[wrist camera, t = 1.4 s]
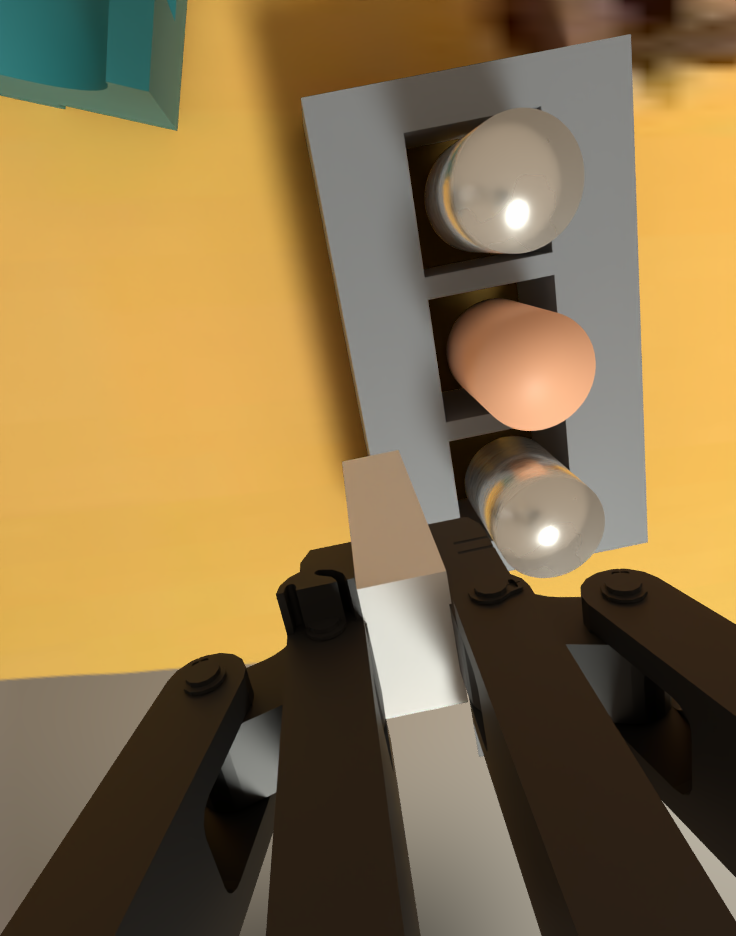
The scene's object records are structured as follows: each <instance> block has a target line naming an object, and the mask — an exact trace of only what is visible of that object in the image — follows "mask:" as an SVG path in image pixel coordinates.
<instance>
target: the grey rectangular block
mask: <svg viewBox="0 0 736 936" xmlns="http://www.w3.org/2000/svg"><path fill="white" fill-rule="evenodd" d="M301 106H302V118H303V127H304V132H305V137H306V142H307V147H308V153H309V158H310V163H311V168H312V173H313V178H314V183H315V188H316V194H317V199H318V204H319V209H320V214H321V219H322V224H323V229H324V234H325V240H326V245H327V250H328V255H329V260H330V265H331V270H332V275H333V280H334V286H335V291H336V296H337V301H338V306H339V311H340V316H341V321H342V326H343V332H344V337H345V342H346V347H347V352H348V357H349V362H350V367H351V372H352V378H353V383H354V388H355V393H356V398H357V403H358V408H359V413H360V419H361V424H362V429H363V434H364V439H365V444H366V449H367V454H368V456H371V455H376V454H381V453H386V452H391V451H396V450H399V453H400V455H401V458H402V460H403V463H404V465H405V468H406V470H407V473H408V475H409V478H410V481H411V483H412V486H413V488H414V491H415V493H416V496H417V498H418V501H419V503H420V506H421V508H422V511H423V513H424V516H425V519H426V521H427V524H432V523H437V522H442V521H447V520H452V519H456V518H461V517H468V518H470V519H472V520H474V521H476V522H478V523H479V524H481V525H482V527H483V529H484V530H485V532H486V534H487V535H488V538H489V539H490V541H491V542H492V544H493V547H495V549H496V551H497V552H498V554H499V556H500V558H501V559H502V561H503V563H504V564H505V566H506V568H507V570H508V571H511V570H515V569H514V568H513V567H511V566H510V565H509V564H508V563H507V561H506V560H505V559H504V557H503V556H502V554H501V552H500V551H499V549H498V547H497V546H496V544H495V543H494V541H493V539H492V538H491V536H490V534H489V533H488V531H487V529H486V528H485V526H484V525H483V523H482V521H481V520H480V518H479V516H478V515H477V513H476V512H475V510H474V508H473V507H472V505H471V503H470V502H469V500H468V498H467V499H462V500H457V494H456V487H455V480H454V473H453V466H452V460H451V453H450V446H449V441H454V440H459V439H464V438H469V437H473V436H478V435H483V434H488V433H493V432H498V431H503V430H508V429H513V428H511V427H509V426H507V425H505V424H503V423H501V422H500V421H498V420H497V419H496V418H495V417H494V416H493V415H491V414H490V413H489V412H488V411H487V410H486V409H485V408H484V407H483V406H482V405H481V404H480V403H479V402H478V401H477V400H476V399H475V398H473V397H472V396H471V395H470V394H469V393H468V392H467V391H466V390H465V389H464V388H461V389H456V390H451V391H446V392H441V385H440V378H439V371H438V364H437V358H436V351H435V344H434V337H433V330H432V323H431V317H430V310H429V303H428V300H430V299H435V298H440V297H445V296H450V295H455V294H460V293H465V292H470V291H475V290H480V289H485V288H490V287H495V286H500V285H505V284H510V283H515V282H517V292H518V302H520V303H523V304H527V305H531V306H534V307H538V308H542V309H545V310H549V311H552V312H556V313H559V314H563V315H565V316H567V317H569V318H571V319H572V320H574V321H575V322H576V323H577V324H579V325H580V326H581V327H582V328H583V330H584V331H585V332H586V334H587V335H588V337H589V339H590V341H591V343H592V345H593V349H594V353H595V360H596V369H595V377H594V381H593V384H592V387H591V389H590V392H589V394H588V396H587V397H586V399H585V401H584V402H583V403H582V405H581V406H580V407H579V408H578V409H577V411H576V412H574V413H573V414H572V415H571V416H570V417H569V418H567V419H566V420H564V421H563V422H561V423H559V424H557V425H555V426H552V427H550V428H547V429H543V430H536V431H531V434H532V440H533V441H535V442H537V443H538V444H540V445H541V446H542V447H543V448H544V449H546V450H547V451H548V452H549V453H550V454H551V455H552V456H554V457H555V458H556V459H557V460H558V461H559V462H560V463H562V464H563V465H564V466H565V467H566V468H567V469H568V470H570V471H571V472H572V473H573V474H574V475H575V476H576V477H578V478H579V479H580V480H581V481H582V482H583V483H584V484H586V485H587V486H588V487H589V488H590V489H591V490H592V491H593V492H594V493H595V494H596V495H597V497H598V498H599V500H600V502H601V504H602V506H603V510H604V515H605V527H604V532H603V536H602V539H601V541H600V543H599V545H598V547H597V549H596V550H595V552H594V553H598V552H603V551H608V550H613V549H617V548H622V547H627V546H632V545H637V544H642V543H646V542H648V536H647V506H646V476H645V446H644V416H643V386H642V356H641V326H640V296H639V266H638V236H637V206H636V177H635V147H634V117H633V87H632V57H631V34H629V35H624V36H619V37H614V38H609V39H603V40H598V41H593V42H588V43H583V44H577V45H572V46H567V47H562V48H557V49H552V50H546V51H541V52H536V53H531V54H526V55H520V56H515V57H510V58H505V59H500V60H495V61H489V62H484V63H479V64H474V65H469V66H463V67H458V68H453V69H448V70H443V71H437V72H432V73H427V74H422V75H417V76H412V77H406V78H401V79H396V80H391V81H386V82H380V83H375V84H370V85H365V86H360V87H355V88H349V89H344V90H339V91H334V92H329V93H323V94H318V95H313V96H308V97H303V98H301ZM515 108H533V109H538V110H541V111H544V112H547V113H549V114H551V115H553V116H554V117H556V118H557V119H559V120H560V121H561V122H562V123H563V124H564V125H565V126H566V127H567V128H568V129H569V130H570V132H571V133H572V134H573V136H574V138H575V139H576V141H577V143H578V145H579V148H580V151H581V154H582V158H583V163H584V188H583V193H582V197H581V201H580V203H579V206H578V209H577V211H576V213H575V215H574V217H573V218H572V220H571V221H570V223H569V224H568V226H567V227H566V228H565V229H564V230H563V232H562V233H561V234H559V235H558V236H557V237H556V238H555V239H554V240H552V241H551V242H550V243H548V244H546V245H545V246H543V247H541V248H539V249H536V250H534V251H530V252H526V253H519V254H508V253H502V254H497V255H492V256H487V257H482V258H477V259H472V260H467V261H462V262H457V263H452V264H447V265H442V266H437V267H432V268H427V269H423V262H422V255H421V249H420V242H419V235H418V228H417V221H416V215H415V208H414V201H413V194H412V187H411V181H410V174H409V167H408V160H407V153H406V149H409V148H414V147H419V146H424V145H429V144H434V143H440V142H445V141H450V140H455V139H460V138H463V137H464V136H465V135H467V134H468V133H470V132H471V131H472V130H474V129H475V128H476V127H478V126H479V125H481V124H482V123H483V122H485V121H486V120H487V119H489V118H491V117H492V116H494V115H496V114H498V113H501V112H503V111H506V110H510V109H515Z"/></svg>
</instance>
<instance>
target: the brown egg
mask: <svg viewBox="0 0 736 936" xmlns="http://www.w3.org/2000/svg"><path fill="white" fill-rule="evenodd" d="M446 356H447V362H448V366H449V369H450V371H451V373H452V375H453V377H454V378H455V380H456V381H457V382H458V383H459V384H460V385H461V386H462V387H463V388H464V389H465V390H466V391H467V392H468V393H469V394H470V395H471V396H472V397H473V398H475V399H476V400H477V401H478V402H479V403H480V404H481V405H482V406H483V407H484V408H485V409H486V410H487V411H488V412H489V413H490V414H491V415H493V416H494V417H495V418H496V419H497V420H498V421H500V422H501V423H503V424H505V425H507V426H509V427H511V428H514V429H518V430H525V431H536V430H543V429H547V428H550V427H552V426H555V425H557V424H559V423H561V422H563V421H564V420H566V419H567V418H569V417H570V416H571V415H572V414H573V413H574V412H576V411H577V409H578V408H579V407H580V406H581V405H582V403H583V402H584V401H585V399H586V397H587V396H588V394H589V392H590V389H591V387H592V384H593V381H594V377H595V369H596V360H595V353H594V349H593V345H592V343H591V341H590V339H589V337H588V335H587V334H586V332H585V331H584V330H583V328H582V327H581V326H580V325H579V324H577V323H576V322H575V321H574V320H572V319H571V318H569V317H567V316H565V315H563V314H559V313H556V312H552V311H549V310H545V309H542V308H538V307H534V306H531V305H527V304H523V303H520V302H516V301H512V300H509V299H502V298H494V299H488V300H484V301H481V302H479V303H476V304H475V305H473V306H471V307H470V308H468V309H467V310H466V311H465V312H464V313H462V314H461V315H460V317H459V318H458V319H457V320H456V322H455V323H454V325H453V327H452V329H451V331H450V333H449V337H448V340H447V346H446Z"/></svg>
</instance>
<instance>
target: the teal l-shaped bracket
mask: <svg viewBox="0 0 736 936" xmlns="http://www.w3.org/2000/svg"><path fill="white" fill-rule="evenodd" d="M186 10H187V0H0V95H1V96H5V97H10V98H15V99H19V100H24V101H28V102H33V103H37V104H42V105H47V106H52V107H56V108H61V109H65V108H66V106H68V107H72V108H77V109H82V110H86V111H91V112H95V113H100V114H104V115H109V116H113V117H118V118H122V119H127V120H131V121H136V122H140V123H145V124H149V125H154V126H158V127H163V128H167V129H172V130H176V131H177V129H178V116H179V102H180V89H181V76H182V63H183V50H184V37H185V24H186Z"/></svg>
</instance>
